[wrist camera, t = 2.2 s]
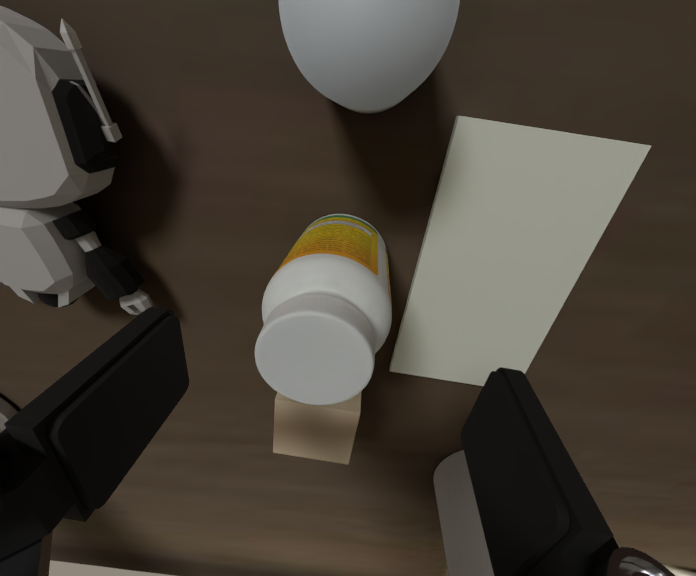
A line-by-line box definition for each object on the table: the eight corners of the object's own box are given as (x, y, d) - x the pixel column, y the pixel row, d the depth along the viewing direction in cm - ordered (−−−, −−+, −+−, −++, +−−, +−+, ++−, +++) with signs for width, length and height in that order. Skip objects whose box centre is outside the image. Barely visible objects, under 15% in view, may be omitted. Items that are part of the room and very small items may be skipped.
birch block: (353, 403, 25) (348, 464, 20) (291, 393, 25) (272, 452, 20) (363, 355, 22) (360, 413, 18) (294, 344, 22) (275, 399, 18)
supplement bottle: (402, 272, 19) (424, 393, 10) (327, 306, 20) (294, 436, 12) (359, 192, 17) (343, 263, 8) (280, 237, 18) (199, 335, 10)
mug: (491, 429, 25) (555, 600, 16) (563, 481, 27) (653, 653, 18) (397, 484, 29) (406, 640, 20) (465, 524, 31) (501, 680, 23)
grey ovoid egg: (412, 121, 15) (432, 119, 10) (311, 105, 15) (276, 95, 10) (441, -17, 13) (488, -118, 7) (320, -36, 13) (281, -149, 7)
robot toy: (184, 294, 22) (134, 22, 14) (144, 337, 18) (42, -4, 10) (14, 267, 22) (-135, -22, 14) (-62, 303, 18) (-330, -65, 10)
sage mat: (512, 385, 22) (514, 391, 22) (389, 366, 22) (389, 371, 22) (643, 145, 15) (651, 145, 14) (456, 115, 15) (459, 115, 14)
